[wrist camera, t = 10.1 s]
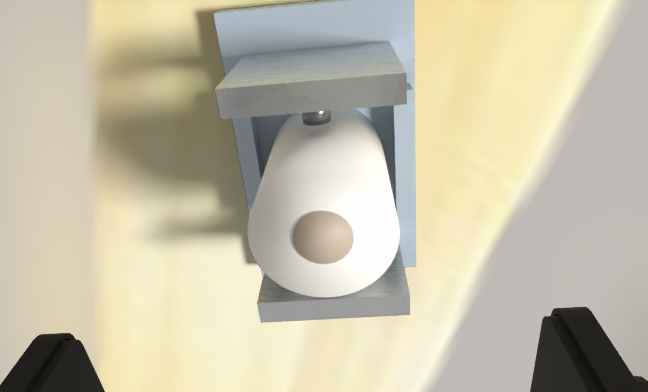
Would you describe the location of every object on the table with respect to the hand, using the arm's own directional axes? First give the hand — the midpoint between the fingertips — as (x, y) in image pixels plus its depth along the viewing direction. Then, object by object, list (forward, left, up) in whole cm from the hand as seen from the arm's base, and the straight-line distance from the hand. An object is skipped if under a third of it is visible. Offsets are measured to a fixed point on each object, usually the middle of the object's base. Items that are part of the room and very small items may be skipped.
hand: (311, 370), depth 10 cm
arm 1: (-4, 0, -13) cm, 14 cm away
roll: (+1, 0, -13) cm, 13 cm away
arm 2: (+5, 0, -13) cm, 14 cm away
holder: (+1, 0, -14) cm, 14 cm away
